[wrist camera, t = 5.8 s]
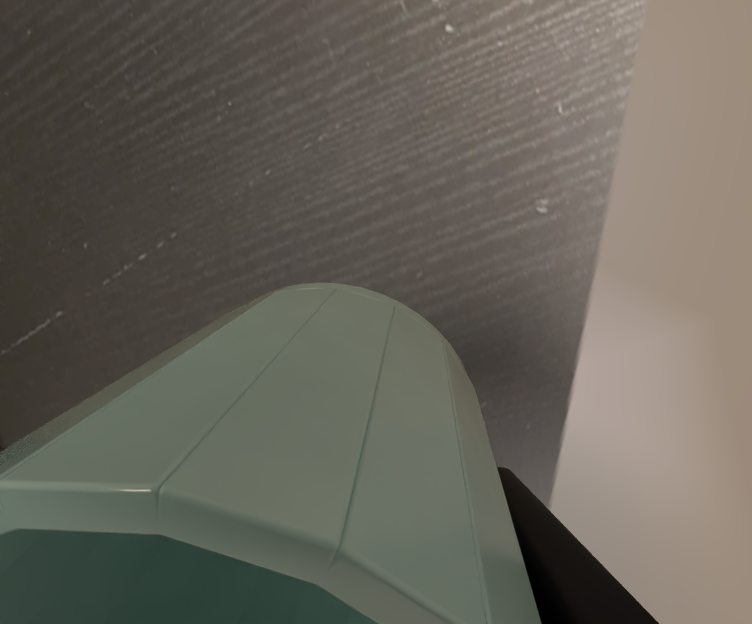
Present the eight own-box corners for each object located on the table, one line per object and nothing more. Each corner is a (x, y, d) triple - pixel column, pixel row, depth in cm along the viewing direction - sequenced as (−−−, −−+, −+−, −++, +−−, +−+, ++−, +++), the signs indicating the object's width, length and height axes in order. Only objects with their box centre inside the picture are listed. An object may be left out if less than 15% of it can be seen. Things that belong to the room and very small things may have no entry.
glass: (505, 301, 8) (741, 593, 2) (451, 554, 10) (495, 1046, 4) (190, 261, 8) (-314, 408, 3) (202, 510, 10) (-63, 893, 5)
